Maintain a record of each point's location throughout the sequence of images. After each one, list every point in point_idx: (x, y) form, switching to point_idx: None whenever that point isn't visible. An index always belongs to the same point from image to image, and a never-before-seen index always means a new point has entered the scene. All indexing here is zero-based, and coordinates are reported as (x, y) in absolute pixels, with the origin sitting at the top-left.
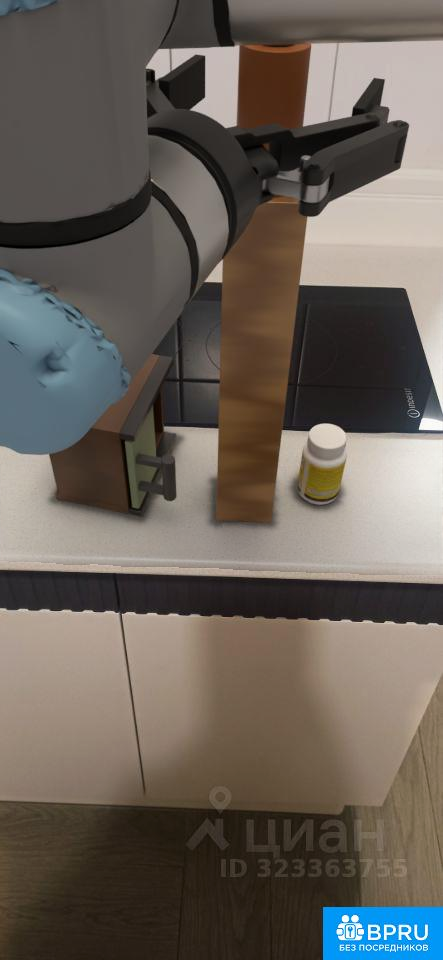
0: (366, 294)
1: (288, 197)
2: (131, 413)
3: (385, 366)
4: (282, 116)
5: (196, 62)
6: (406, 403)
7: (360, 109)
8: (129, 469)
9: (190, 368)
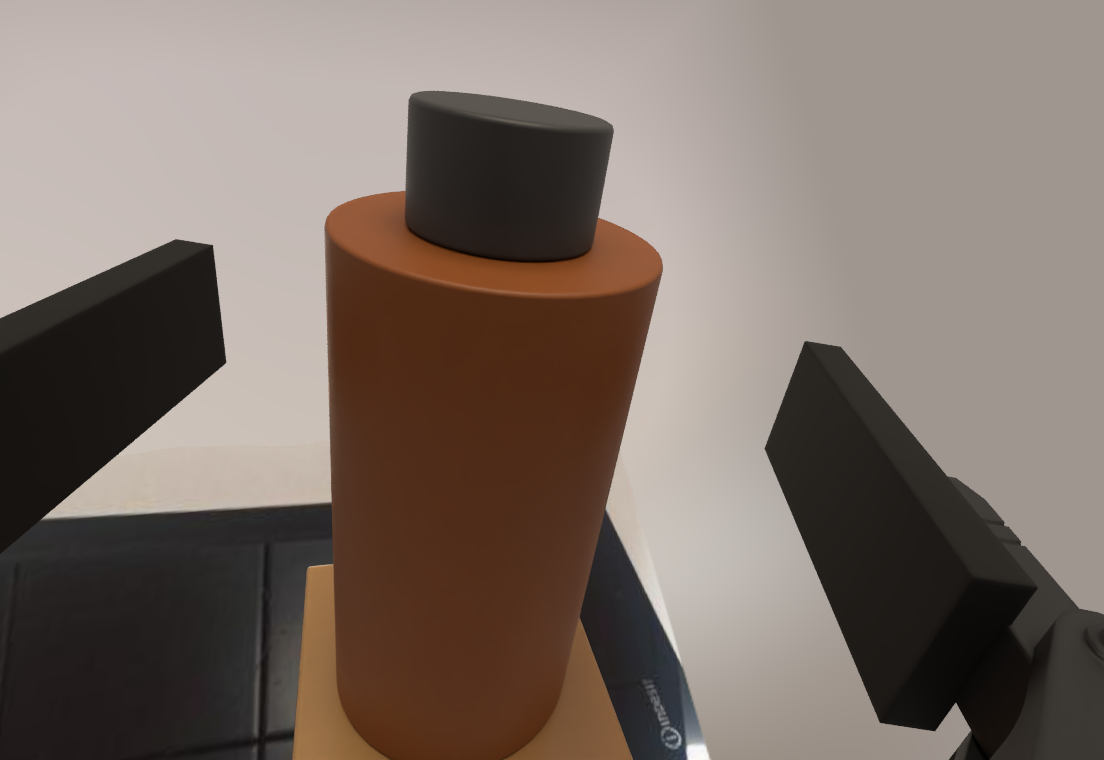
0: None
1: (553, 743)
2: None
3: (604, 636)
4: (551, 538)
5: (161, 273)
6: (655, 715)
7: (1016, 588)
8: None
9: (282, 702)
